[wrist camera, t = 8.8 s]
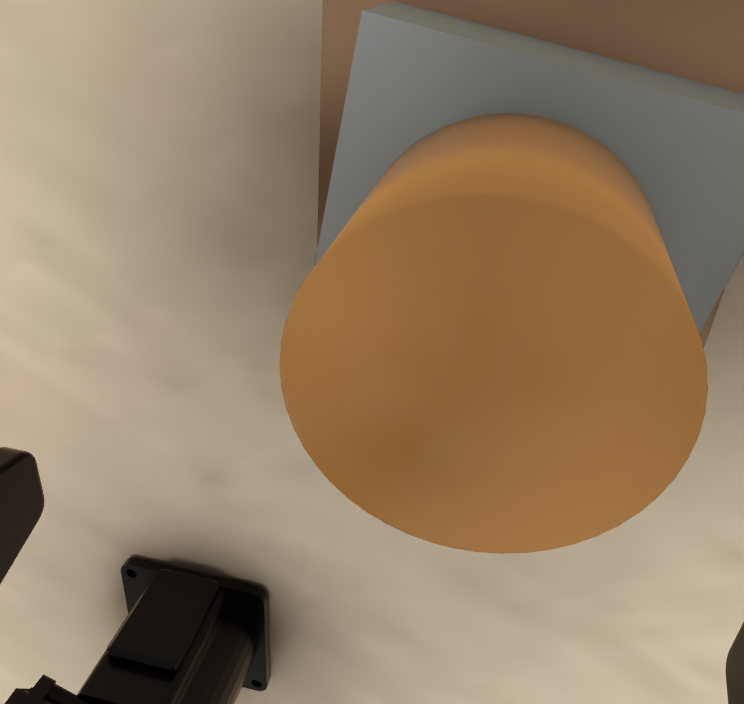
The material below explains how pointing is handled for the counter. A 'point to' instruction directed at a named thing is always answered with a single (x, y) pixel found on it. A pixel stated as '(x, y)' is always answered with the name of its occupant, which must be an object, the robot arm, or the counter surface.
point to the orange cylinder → (497, 343)
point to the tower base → (564, 27)
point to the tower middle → (557, 102)
